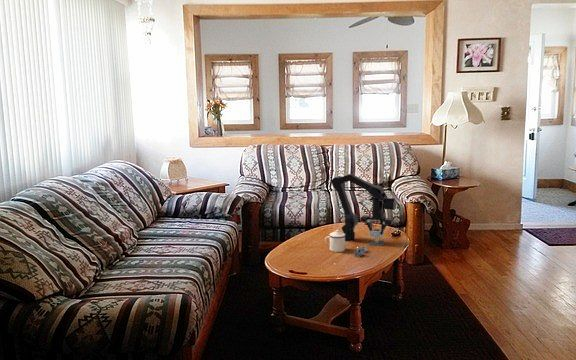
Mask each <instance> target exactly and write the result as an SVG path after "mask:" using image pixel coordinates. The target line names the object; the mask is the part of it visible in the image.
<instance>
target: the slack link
mask: <svg viewBox="0 0 576 360" xmlns="http://www.w3.org/2000/svg"><path fill="white" fill-rule="evenodd" d="M359 247H360V250H363V254H365V253H366V252H368V247H367V246H365V245H364V246H363V245H362V246H359Z"/></svg>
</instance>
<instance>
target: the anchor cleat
mask: <svg viewBox="0 0 576 360" xmlns="http://www.w3.org/2000/svg"><path fill="white" fill-rule="evenodd" d="M360 247H361V246H357V248H356V249H357V250H355V251H354V257H357V258H361V257H362V256H363V255H364V253H363V250H360Z"/></svg>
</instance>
